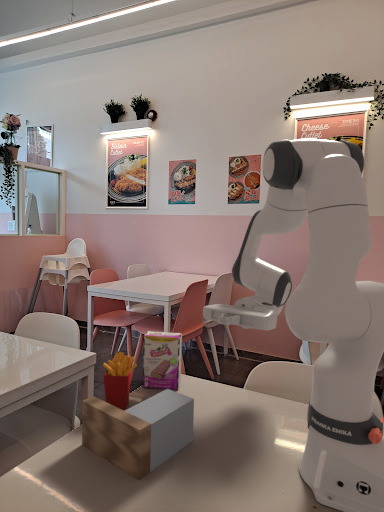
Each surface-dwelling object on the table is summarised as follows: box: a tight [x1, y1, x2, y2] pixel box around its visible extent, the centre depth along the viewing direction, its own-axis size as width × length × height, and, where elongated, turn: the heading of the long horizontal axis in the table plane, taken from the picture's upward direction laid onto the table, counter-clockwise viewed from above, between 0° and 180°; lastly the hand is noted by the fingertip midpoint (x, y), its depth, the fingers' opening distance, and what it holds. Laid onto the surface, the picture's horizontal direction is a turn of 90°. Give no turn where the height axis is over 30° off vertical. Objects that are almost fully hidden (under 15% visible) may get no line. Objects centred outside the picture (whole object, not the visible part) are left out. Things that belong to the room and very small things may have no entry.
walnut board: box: [81, 395, 151, 481], centre depth 76 cm, size 18×3×10 cm, turn 53°
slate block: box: [125, 389, 195, 473], centre depth 80 cm, size 8×14×10 cm, turn 143°
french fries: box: [102, 351, 138, 411], centre depth 98 cm, size 9×8×15 cm
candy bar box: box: [142, 330, 183, 391], centre depth 110 cm, size 11×5×16 cm, turn 84°
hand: (222, 321), depth 93 cm, fingers closed
